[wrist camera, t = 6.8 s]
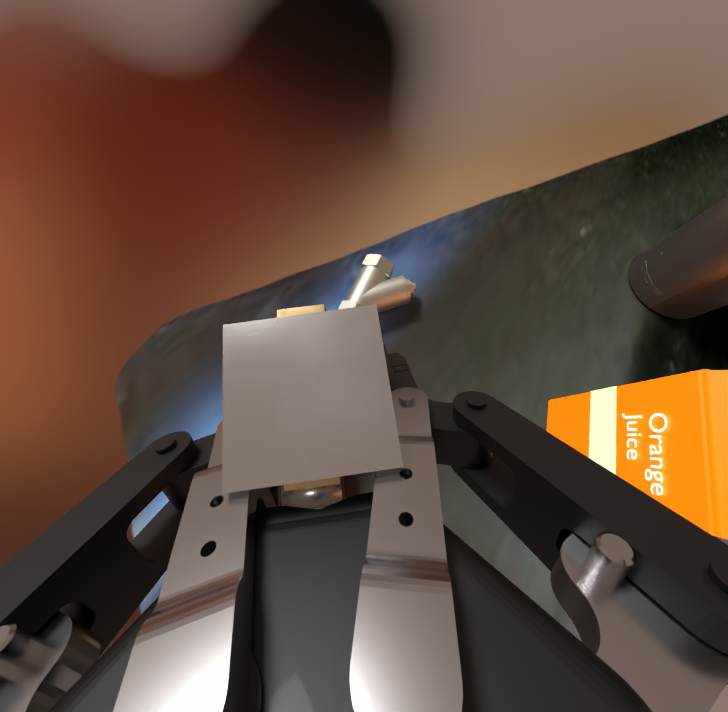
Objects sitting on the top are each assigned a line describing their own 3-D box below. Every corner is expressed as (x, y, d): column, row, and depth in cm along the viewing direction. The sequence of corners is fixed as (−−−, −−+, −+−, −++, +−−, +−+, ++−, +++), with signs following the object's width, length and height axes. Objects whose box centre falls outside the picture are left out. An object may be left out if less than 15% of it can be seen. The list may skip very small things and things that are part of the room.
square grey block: (372, 387, 17) (376, 304, 6) (381, 448, 16) (403, 467, 5) (314, 395, 17) (223, 324, 6) (320, 457, 16) (221, 494, 5)
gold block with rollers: (337, 316, 33) (331, 296, 28) (357, 513, 27) (354, 530, 23) (278, 323, 33) (262, 304, 28) (286, 523, 27) (268, 541, 22)
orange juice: (541, 486, 28) (930, 601, 8) (547, 399, 30) (865, 332, 11) (624, 508, 27) (1256, 687, 8) (624, 417, 29) (1110, 381, 10)
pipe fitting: (415, 289, 35) (366, 267, 35) (423, 272, 31) (368, 248, 31) (389, 345, 33) (337, 321, 33) (394, 334, 29) (336, 308, 29)
